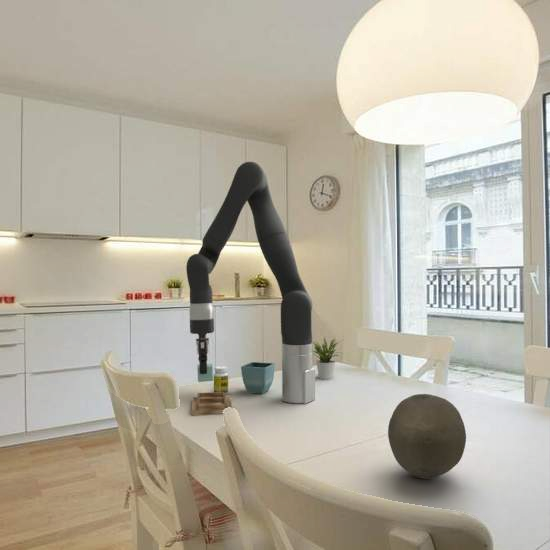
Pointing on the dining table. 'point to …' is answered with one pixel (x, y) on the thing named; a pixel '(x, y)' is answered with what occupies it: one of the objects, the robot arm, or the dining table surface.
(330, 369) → the house plant
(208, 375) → the block
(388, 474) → the dining table surface
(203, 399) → the walnut tray
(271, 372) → the flower pot
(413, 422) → the brown ball
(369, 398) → the dining table surface
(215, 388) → the supplement bottle
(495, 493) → the dining table surface
